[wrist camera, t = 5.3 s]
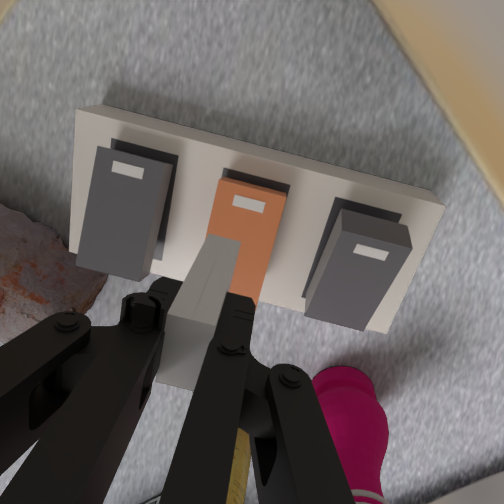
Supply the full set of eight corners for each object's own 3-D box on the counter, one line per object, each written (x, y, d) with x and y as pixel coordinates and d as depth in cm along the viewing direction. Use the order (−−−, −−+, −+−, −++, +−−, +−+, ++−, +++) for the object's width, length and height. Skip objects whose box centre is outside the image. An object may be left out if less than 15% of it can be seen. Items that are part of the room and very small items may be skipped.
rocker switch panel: (91, 232, 36) (68, 251, 32) (101, 103, 31) (75, 109, 28) (377, 307, 36) (386, 334, 33) (429, 190, 32) (446, 206, 28)
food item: (-46, 239, 38) (-151, 292, 29) (-16, 171, 35) (-124, 208, 26) (83, 320, 40) (22, 392, 31) (121, 263, 37) (66, 325, 28)
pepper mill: (301, 362, 40) (304, 613, 21) (378, 359, 39) (450, 620, 20) (307, 418, 42) (314, 681, 24) (379, 417, 41) (443, 690, 23)
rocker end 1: (90, 258, 30) (74, 265, 27) (111, 148, 28) (97, 145, 26) (149, 274, 30) (138, 282, 27) (173, 164, 28) (164, 163, 26)
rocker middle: (198, 283, 30) (192, 295, 28) (223, 176, 28) (218, 179, 26) (256, 298, 30) (255, 312, 28) (285, 193, 28) (286, 197, 26)
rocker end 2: (306, 292, 31) (304, 316, 30) (341, 208, 26) (341, 230, 24) (361, 307, 31) (363, 332, 30) (407, 225, 26) (413, 249, 24)
